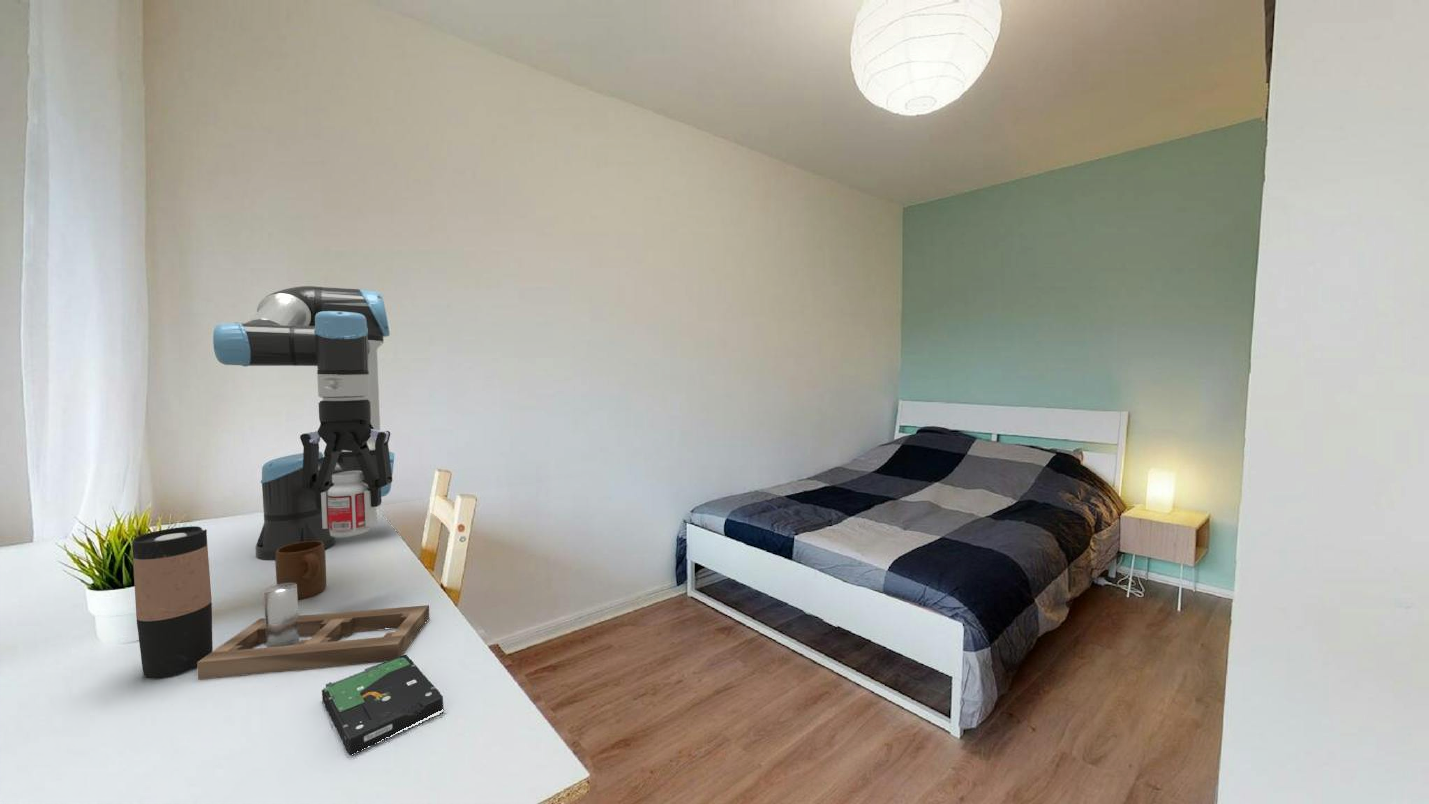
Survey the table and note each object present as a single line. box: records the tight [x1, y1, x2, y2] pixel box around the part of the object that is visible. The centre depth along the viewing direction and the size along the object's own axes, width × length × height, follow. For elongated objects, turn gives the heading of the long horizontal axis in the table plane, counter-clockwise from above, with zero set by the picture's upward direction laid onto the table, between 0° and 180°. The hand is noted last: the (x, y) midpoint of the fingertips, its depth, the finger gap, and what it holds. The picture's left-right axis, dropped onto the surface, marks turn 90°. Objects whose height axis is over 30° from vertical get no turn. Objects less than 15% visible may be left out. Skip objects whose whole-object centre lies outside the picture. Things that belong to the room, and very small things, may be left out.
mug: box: [274, 541, 327, 600], centre depth 99 cm, size 12×8×9 cm, turn 54°
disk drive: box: [321, 654, 444, 756], centre depth 66 cm, size 10×3×15 cm
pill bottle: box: [327, 471, 372, 539], centre depth 92 cm, size 6×6×11 cm
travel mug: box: [131, 525, 213, 680], centre depth 75 cm, size 8×8×20 cm
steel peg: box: [262, 583, 301, 648], centre depth 79 cm, size 4×4×10 cm
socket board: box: [196, 604, 430, 680], centre depth 81 cm, size 13×26×2 cm, turn 101°
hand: (350, 525), depth 92 cm, fingers closed on pill bottle, 6 cm apart
